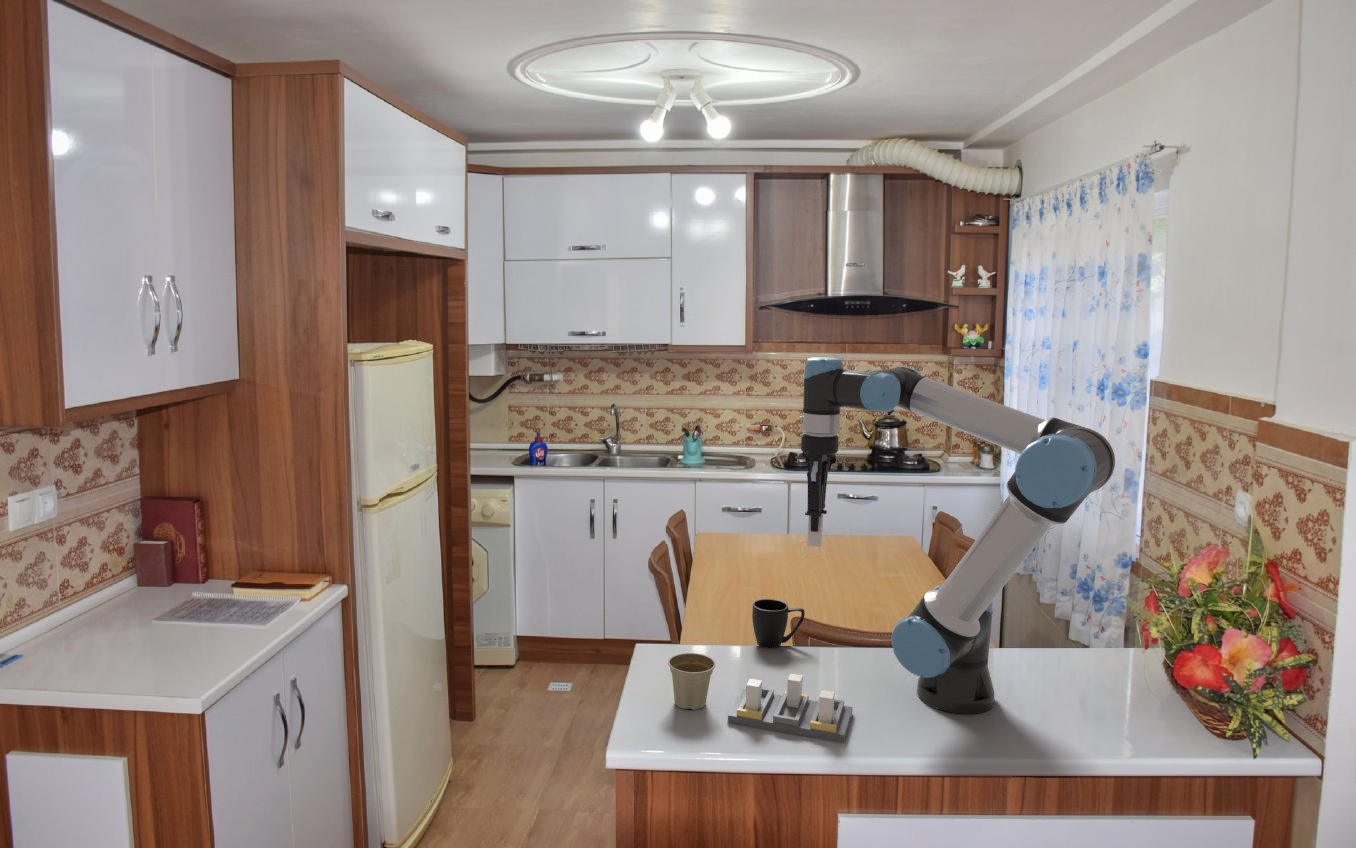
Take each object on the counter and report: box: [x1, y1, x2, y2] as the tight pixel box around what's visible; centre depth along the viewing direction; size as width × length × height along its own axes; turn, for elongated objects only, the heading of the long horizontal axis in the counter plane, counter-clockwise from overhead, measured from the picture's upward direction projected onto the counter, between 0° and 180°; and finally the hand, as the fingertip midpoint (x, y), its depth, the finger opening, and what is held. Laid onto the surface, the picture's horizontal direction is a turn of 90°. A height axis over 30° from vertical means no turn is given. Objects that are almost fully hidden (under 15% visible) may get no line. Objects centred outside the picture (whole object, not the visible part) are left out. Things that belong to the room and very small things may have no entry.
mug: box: [751, 598, 805, 649], centre depth 210 cm, size 8×12×10 cm
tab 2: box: [786, 673, 804, 708], centre depth 177 cm, size 2×3×6 cm
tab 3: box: [818, 689, 835, 724], centre depth 170 cm, size 2×3×6 cm
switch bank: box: [727, 687, 854, 744], centre depth 175 cm, size 22×12×3 cm, turn 72°
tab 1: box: [745, 678, 763, 711], centre depth 175 cm, size 2×3×6 cm
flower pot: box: [667, 652, 717, 711], centre depth 180 cm, size 9×9×9 cm
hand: (814, 545), depth 189 cm, fingers closed
